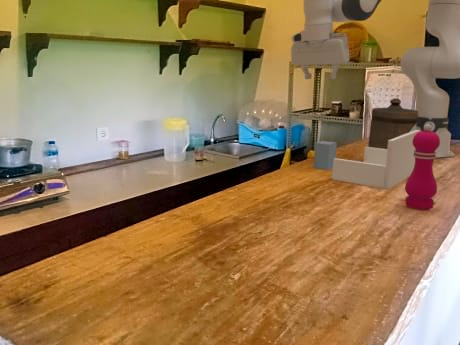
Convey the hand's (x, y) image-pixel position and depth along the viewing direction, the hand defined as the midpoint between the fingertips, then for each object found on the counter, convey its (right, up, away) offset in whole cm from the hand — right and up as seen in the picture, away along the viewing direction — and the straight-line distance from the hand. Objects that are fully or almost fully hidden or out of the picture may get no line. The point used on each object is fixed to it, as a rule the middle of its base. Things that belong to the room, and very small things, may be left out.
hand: (320, 79), depth 154 cm
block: (+1, -30, -3) cm, 30 cm away
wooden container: (+26, -27, +10) cm, 39 cm away
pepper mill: (+17, -38, -37) cm, 56 cm away
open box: (+14, -32, -12) cm, 37 cm away
